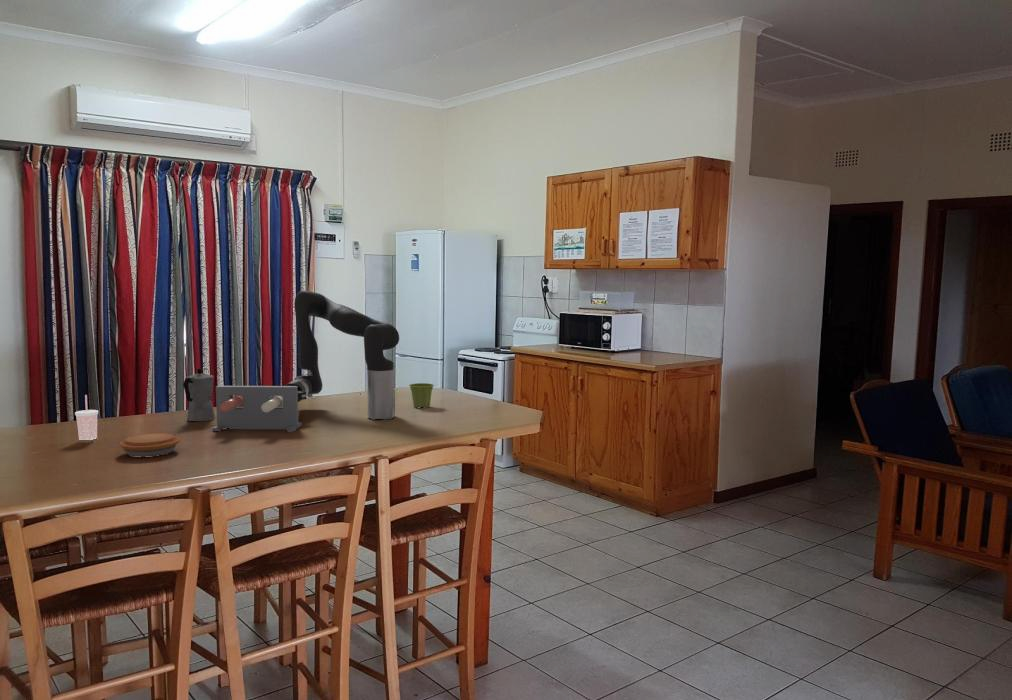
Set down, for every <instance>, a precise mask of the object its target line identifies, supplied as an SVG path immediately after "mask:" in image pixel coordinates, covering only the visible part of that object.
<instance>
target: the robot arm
mask: <svg viewBox="0 0 1012 700" xmlns="http://www.w3.org/2000/svg"><path fill="white" fill-rule="evenodd" d="M293 305H294V315H295V321H296V322H295V323H296V327H297V329H296V330H297V335H298V366H299V369H302V370H305V371H309V372H310V373H311V375H298V376H296V377H294V380H292V381H289V382H288V383H286V384H285V385H284V386H298V403H299V402H301V401H303V400H307V396H309V395H318V394H320V393H321V391H322V390H323V381H322V377H321V374H320V369H319V347H318V343H317V340H316V338H315V336H314V333H313V331H312V328H311V324H310V317H314V318H320V319H323V320H327V321H328V322H329V324H330V325H331V327H333V328H334V329H335V330H337V331H340V332H341V333H343V334H347V335H350V336H355V337H356V336H357V337H363V347H364V360H365V364H366V374H367V375H366V376H367V377H366V378H367V379H366V380H367V382H366V383H367V387H366V388H367V393H366V394H367V418H368V419H369V418H371V419H370V420H375V419H383V420H393V419H394V418H395V417H396V390H395V388H394V387H395V386H394V384H395V380H394V379H395V377H394V373H395V370H394V367H395V366H394V364H395V363H394V361H392V359H391V360H390V359H388V358H386V357H385V356H384V351H386V350H387V351H388V350H392V349H393V348H396V346H397V345H398V344H399V341H400V334H399V332H398V329H397V328H396V327H395V326H394V325H392V324H390V323H386V322H384V321H380V320H376V319H373V318H372V317H370V316H368V315H365V314H364V313H361V312H359V311H357V310H355V309H353V308H351V307H349V306H346V305H343V304H340V303H337V302H335V301H332V300H330V299H329V298H327V297H326V296H325V295H323V294H321V293H319V292H314V291H309V290H303V289H302V290H300V291H299V292H297V293H296V296H295V298H294V304H293ZM271 399H273V396H271ZM394 416H395V417H394ZM393 417H394V418H393ZM392 418H393V419H392Z"/></svg>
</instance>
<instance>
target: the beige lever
mask: <svg viewBox="0 0 1012 700" xmlns="http://www.w3.org/2000/svg"><path fill="white" fill-rule="evenodd" d="M275 408H283V396H273V399H271V400H270V401H268V402H266V403H264V404H263V405H262V406H261V409H262V411H263V412H269V411H271V410H273V409H275Z"/></svg>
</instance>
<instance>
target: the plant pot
mask: <svg viewBox="0 0 1012 700" xmlns="http://www.w3.org/2000/svg"><path fill="white" fill-rule="evenodd" d="M408 386H409V388H410V390H411V396H412V403H413V408H417V407H426V408H430V407H429V406H431V399H432V391H433V388H434V386H435V384H433V383H425V382H424V383H422V382H421V383H410V384H408Z"/></svg>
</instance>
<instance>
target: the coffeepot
mask: <svg viewBox="0 0 1012 700" xmlns="http://www.w3.org/2000/svg"><path fill="white" fill-rule="evenodd" d="M196 371H197V373H195V374H192V375H191V374H190V375H188V376H186V377H185V378H184V381H183V383H182V384H183V385H182V386H183V389H184V393H185V397H186V399H187V402H189V403H188V410H187V418H186V421H188V420H189V421H188V422H190V421H205V422H207V421H206V420H211V419H214V418H216V414H215V411H214V406H213V401H212V395H213V389H214V379H215V376H214V375H212V374H207V373H206V374H205V373H202V372H203V368H197V369H196ZM214 420H215V419H214ZM211 421H212V420H211Z"/></svg>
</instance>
